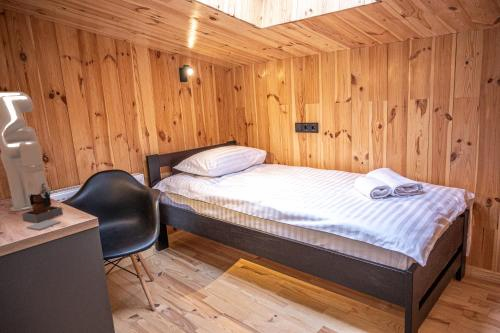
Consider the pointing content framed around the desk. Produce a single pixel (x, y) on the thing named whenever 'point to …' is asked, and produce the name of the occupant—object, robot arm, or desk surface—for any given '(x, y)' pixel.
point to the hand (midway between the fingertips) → (41, 205)
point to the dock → (42, 215)
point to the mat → (43, 225)
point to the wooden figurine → (39, 205)
